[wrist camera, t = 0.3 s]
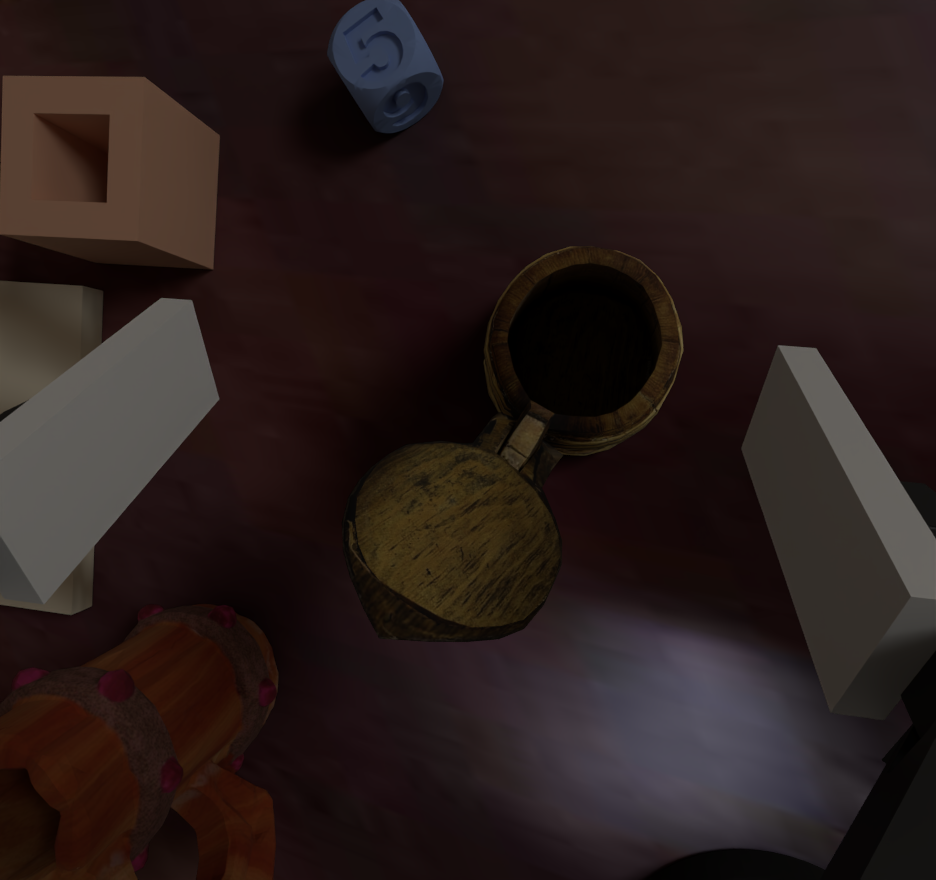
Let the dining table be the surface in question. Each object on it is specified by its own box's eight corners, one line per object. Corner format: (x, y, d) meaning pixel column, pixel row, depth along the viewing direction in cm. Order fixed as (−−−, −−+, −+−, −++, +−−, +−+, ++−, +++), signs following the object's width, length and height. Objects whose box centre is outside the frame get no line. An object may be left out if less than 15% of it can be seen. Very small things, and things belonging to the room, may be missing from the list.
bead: (213, 269, 33) (138, 240, 27) (96, 262, 34) (-1, 233, 28) (219, 135, 33) (144, 76, 27) (100, 132, 34) (2, 76, 28)
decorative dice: (409, 31, 31) (387, -22, 27) (450, 98, 31) (434, 54, 27) (344, 80, 32) (314, 34, 28) (385, 146, 32) (360, 109, 28)
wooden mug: (405, 462, 32) (217, 536, 15) (547, 235, 31) (531, 6, 13) (549, 557, 32) (535, 759, 14) (703, 331, 30) (916, 227, 12)
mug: (127, 623, 35) (-185, 784, 21) (237, 551, 34) (-12, 666, 19) (263, 842, 35) (44, 1168, 20) (379, 778, 34) (236, 1074, 19)
